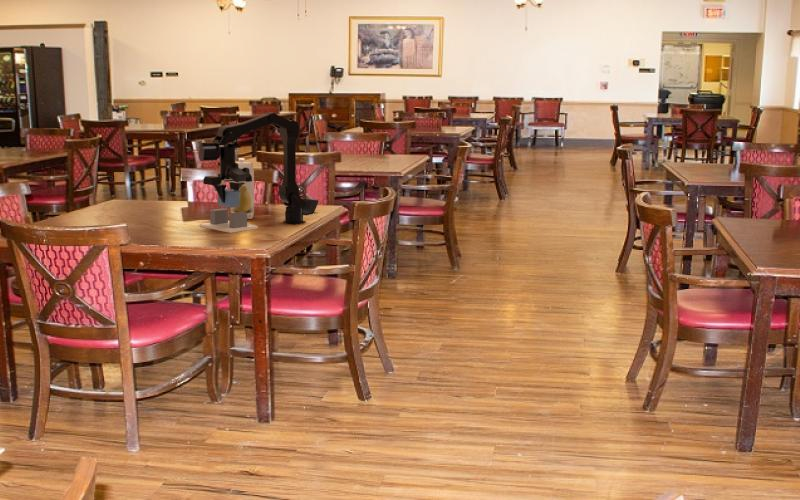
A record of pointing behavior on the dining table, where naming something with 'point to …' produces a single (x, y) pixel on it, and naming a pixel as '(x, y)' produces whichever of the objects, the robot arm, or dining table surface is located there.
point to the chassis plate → (228, 221)
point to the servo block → (230, 198)
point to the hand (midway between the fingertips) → (228, 202)
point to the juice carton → (246, 191)
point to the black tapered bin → (309, 206)
